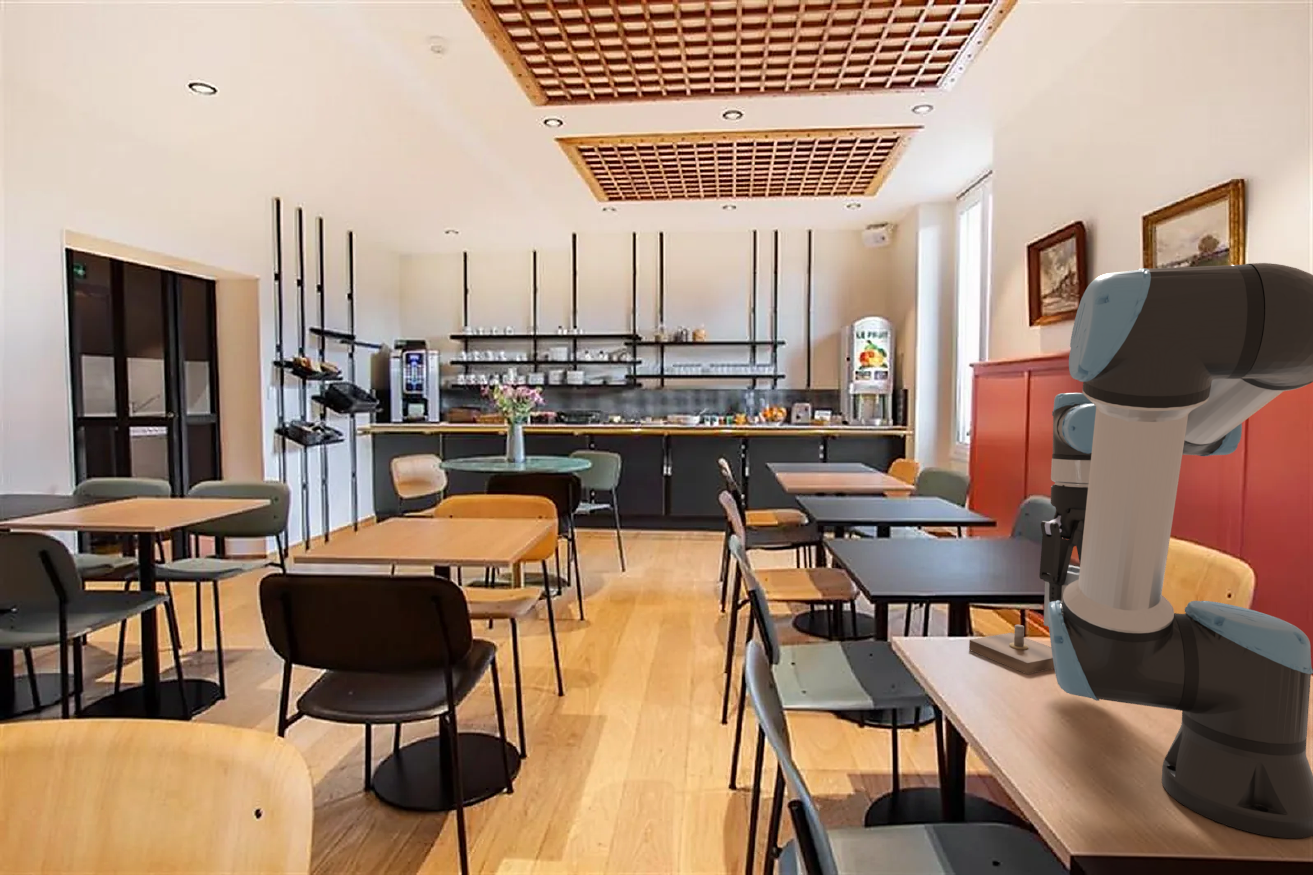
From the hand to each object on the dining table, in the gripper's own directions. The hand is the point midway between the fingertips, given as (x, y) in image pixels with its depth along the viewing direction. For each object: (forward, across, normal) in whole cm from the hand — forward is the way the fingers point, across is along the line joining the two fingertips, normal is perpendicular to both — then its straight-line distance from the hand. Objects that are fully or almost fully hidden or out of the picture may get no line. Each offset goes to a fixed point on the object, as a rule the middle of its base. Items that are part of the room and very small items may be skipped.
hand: (1072, 619), depth 121 cm
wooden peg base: (+11, +3, +13) cm, 17 cm away
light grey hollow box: (+1, 0, 0) cm, 1 cm away
